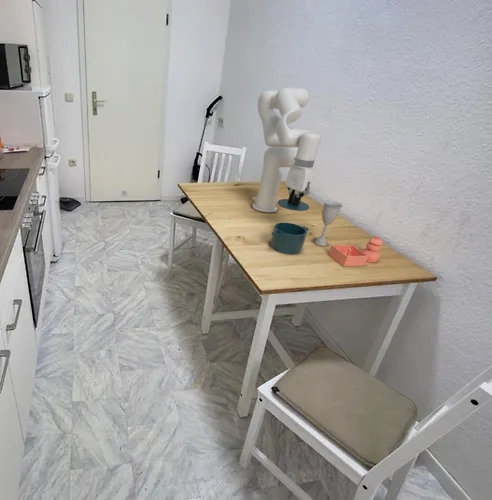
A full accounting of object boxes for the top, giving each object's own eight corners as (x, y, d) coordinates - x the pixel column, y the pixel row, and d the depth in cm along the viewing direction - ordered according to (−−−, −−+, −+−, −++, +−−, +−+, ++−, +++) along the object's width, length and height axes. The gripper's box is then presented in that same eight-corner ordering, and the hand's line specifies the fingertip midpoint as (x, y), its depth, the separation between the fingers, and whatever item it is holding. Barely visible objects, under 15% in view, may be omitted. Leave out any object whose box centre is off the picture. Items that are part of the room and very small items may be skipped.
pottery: (343, 266, 138) (352, 243, 134) (328, 254, 146) (336, 232, 142) (384, 264, 141) (394, 242, 137) (368, 252, 149) (376, 231, 145)
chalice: (308, 238, 159) (320, 200, 150) (323, 238, 159) (336, 200, 151) (317, 246, 152) (330, 206, 144) (332, 246, 153) (346, 207, 144)
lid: (270, 202, 164) (273, 191, 161) (292, 199, 169) (295, 188, 167) (292, 213, 153) (295, 201, 151) (315, 210, 159) (318, 198, 156)
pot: (259, 243, 152) (263, 225, 148) (290, 237, 159) (295, 220, 155) (280, 257, 142) (285, 238, 138) (312, 250, 149) (318, 231, 145)
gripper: (283, 159, 157) (274, 199, 166) (312, 168, 144) (300, 211, 153) (296, 158, 160) (286, 197, 169) (325, 167, 147) (313, 209, 156)
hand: (293, 203), depth 161 cm, fingers closed on lid, 2 cm apart
